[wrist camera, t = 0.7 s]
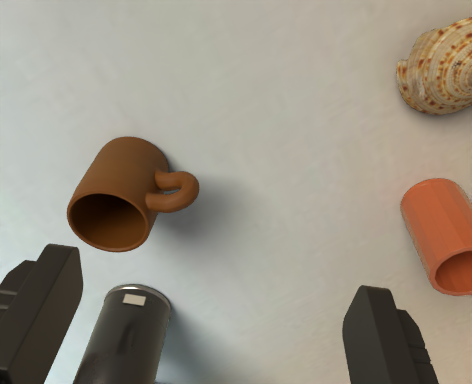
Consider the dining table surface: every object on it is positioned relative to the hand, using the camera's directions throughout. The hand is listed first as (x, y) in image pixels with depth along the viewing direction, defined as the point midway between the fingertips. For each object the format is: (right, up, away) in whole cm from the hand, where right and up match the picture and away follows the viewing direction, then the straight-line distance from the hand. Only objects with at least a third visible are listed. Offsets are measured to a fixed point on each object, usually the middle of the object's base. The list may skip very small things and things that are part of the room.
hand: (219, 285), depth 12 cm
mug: (-8, +6, +31) cm, 33 cm away
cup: (+22, +2, +32) cm, 39 cm away
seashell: (+19, +14, +24) cm, 33 cm away
